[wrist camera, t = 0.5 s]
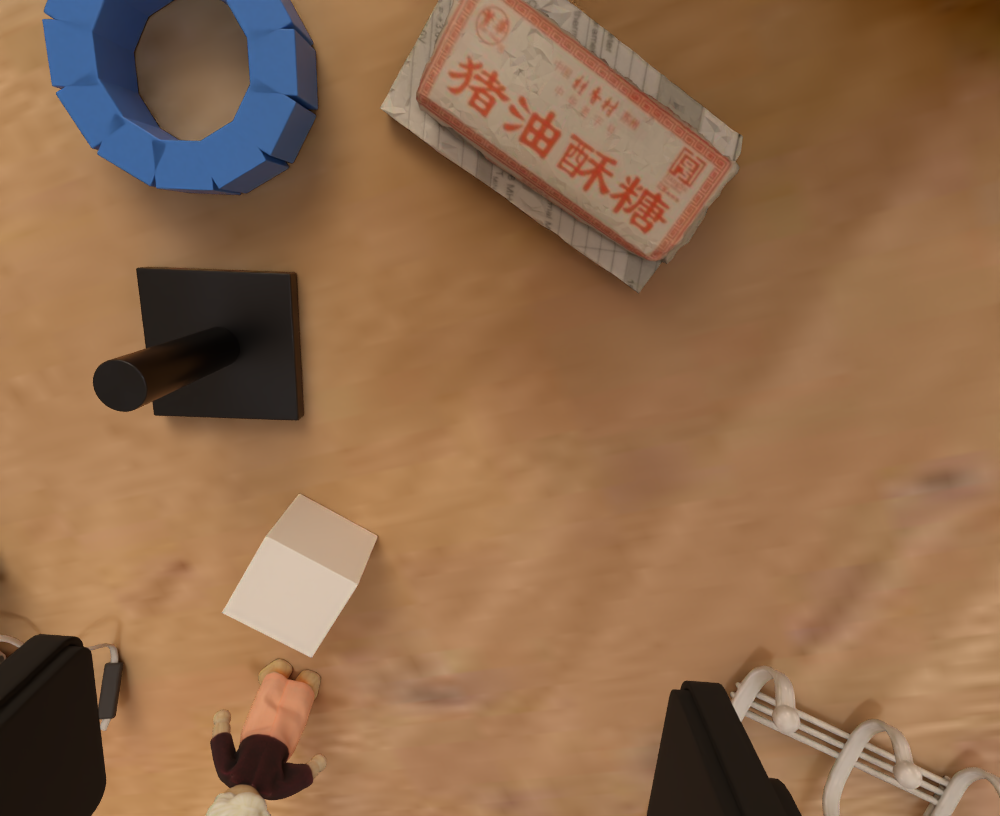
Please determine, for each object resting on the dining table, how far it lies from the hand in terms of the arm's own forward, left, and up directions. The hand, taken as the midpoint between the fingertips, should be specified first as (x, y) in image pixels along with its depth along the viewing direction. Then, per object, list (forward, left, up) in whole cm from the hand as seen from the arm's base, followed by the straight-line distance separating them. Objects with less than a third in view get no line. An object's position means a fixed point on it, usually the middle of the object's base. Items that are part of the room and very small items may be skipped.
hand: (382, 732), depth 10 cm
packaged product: (-14, +5, -30) cm, 33 cm away
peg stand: (-1, -15, -30) cm, 33 cm away
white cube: (+13, -10, -30) cm, 34 cm away
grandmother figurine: (+24, -12, -30) cm, 40 cm away
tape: (-16, -15, -30) cm, 37 cm away
